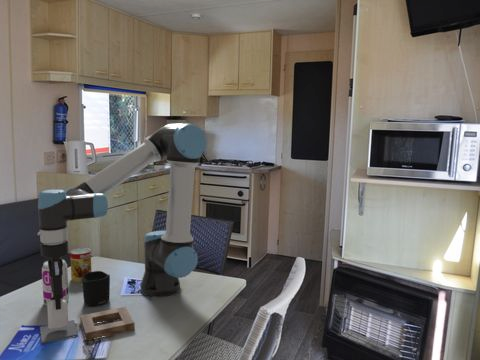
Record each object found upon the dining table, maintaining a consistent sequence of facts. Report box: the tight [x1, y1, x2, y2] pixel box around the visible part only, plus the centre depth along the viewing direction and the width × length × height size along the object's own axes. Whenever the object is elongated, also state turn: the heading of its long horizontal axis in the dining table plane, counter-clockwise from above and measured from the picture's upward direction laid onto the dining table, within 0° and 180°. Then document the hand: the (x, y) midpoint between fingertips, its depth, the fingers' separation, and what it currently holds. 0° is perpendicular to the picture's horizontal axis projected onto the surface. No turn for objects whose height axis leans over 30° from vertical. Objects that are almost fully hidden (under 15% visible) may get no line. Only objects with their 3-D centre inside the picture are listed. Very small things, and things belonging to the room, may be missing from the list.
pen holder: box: [81, 270, 111, 308], centre depth 145 cm, size 9×9×10 cm
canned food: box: [69, 247, 92, 283], centre depth 167 cm, size 8×8×12 cm
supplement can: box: [41, 259, 70, 306], centre depth 144 cm, size 8×8×15 cm
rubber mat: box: [39, 319, 79, 345], centre depth 124 cm, size 10×10×1 cm
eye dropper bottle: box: [47, 294, 69, 329], centre depth 123 cm, size 4×6×12 cm
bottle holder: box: [80, 306, 136, 342], centre depth 128 cm, size 14×12×2 cm
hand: (58, 315), depth 124 cm, fingers closed on eye dropper bottle, 3 cm apart
